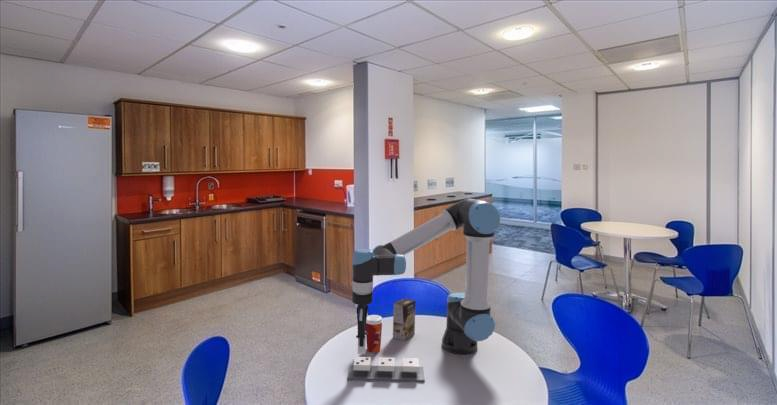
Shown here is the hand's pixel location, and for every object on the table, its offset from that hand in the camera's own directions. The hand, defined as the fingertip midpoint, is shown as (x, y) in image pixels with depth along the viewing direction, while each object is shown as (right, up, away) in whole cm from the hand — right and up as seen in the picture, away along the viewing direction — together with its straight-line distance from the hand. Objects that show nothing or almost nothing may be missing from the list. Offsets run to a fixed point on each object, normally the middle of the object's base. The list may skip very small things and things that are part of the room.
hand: (361, 353), depth 143 cm
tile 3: (0, -5, +1) cm, 5 cm away
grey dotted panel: (+9, -8, +1) cm, 12 cm away
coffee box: (+17, -5, +33) cm, 38 cm away
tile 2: (+9, -5, 0) cm, 11 cm away
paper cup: (+4, -6, +20) cm, 21 cm away
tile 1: (+18, -5, 0) cm, 19 cm away
